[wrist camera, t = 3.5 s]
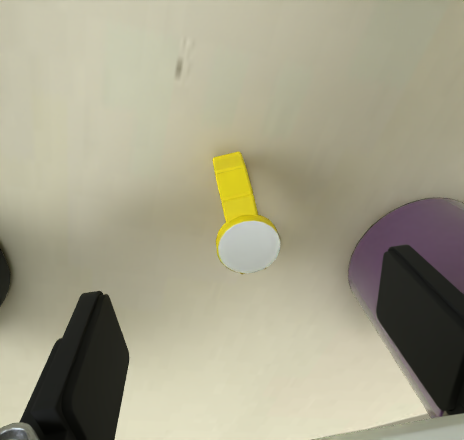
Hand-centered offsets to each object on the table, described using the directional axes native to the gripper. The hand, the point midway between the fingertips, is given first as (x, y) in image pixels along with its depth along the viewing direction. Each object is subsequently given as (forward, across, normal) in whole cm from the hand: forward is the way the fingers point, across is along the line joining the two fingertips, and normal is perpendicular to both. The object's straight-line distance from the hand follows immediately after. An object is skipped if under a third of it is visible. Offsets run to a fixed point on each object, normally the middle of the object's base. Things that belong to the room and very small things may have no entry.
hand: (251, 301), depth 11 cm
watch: (+9, 0, 0) cm, 9 cm away
